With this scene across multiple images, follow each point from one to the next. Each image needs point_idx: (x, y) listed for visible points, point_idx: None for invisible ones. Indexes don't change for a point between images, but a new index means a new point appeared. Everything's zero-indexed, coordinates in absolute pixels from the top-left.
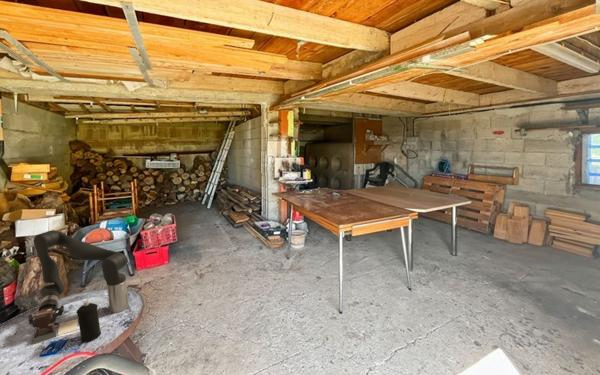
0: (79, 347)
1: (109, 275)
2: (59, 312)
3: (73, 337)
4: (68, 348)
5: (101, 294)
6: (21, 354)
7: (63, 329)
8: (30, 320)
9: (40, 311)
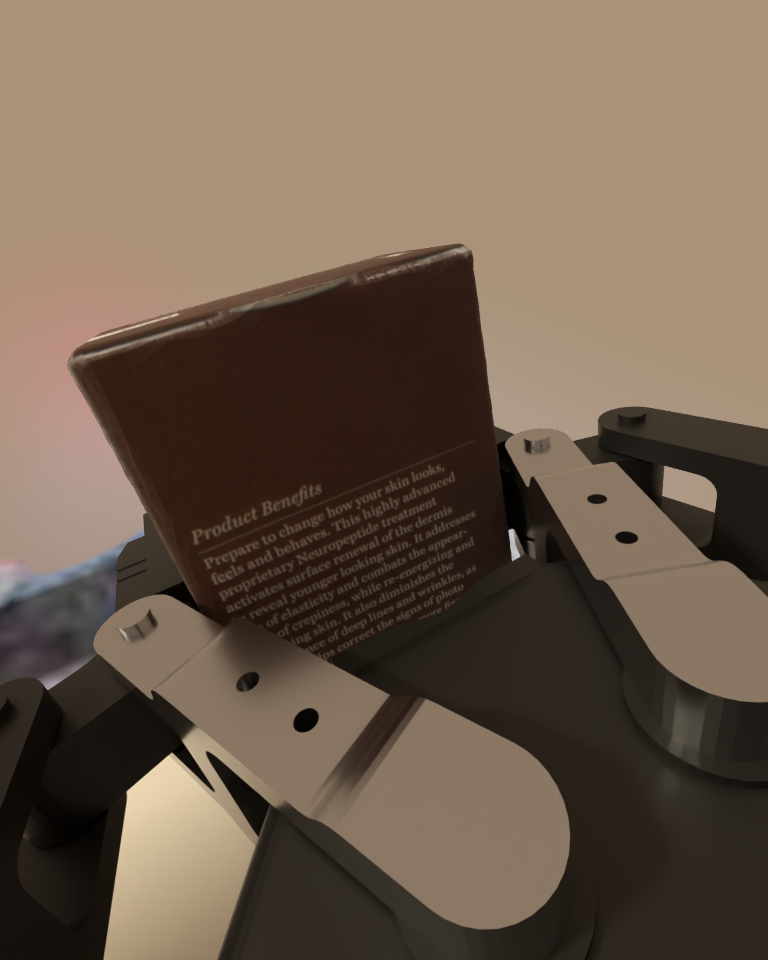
0: (19, 583)
1: None
2: (16, 691)
3: (50, 677)
4: (97, 569)
5: None
6: None
7: (180, 828)
8: (600, 424)
9: (346, 269)
